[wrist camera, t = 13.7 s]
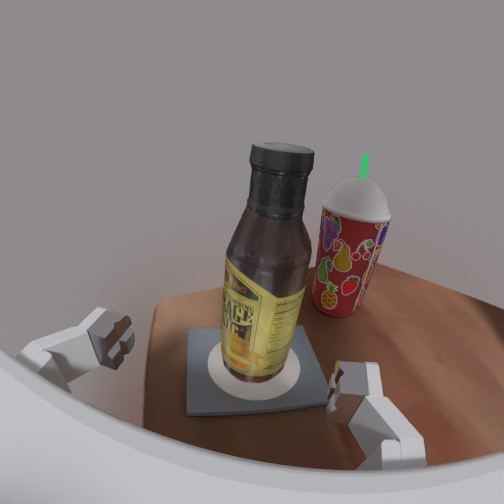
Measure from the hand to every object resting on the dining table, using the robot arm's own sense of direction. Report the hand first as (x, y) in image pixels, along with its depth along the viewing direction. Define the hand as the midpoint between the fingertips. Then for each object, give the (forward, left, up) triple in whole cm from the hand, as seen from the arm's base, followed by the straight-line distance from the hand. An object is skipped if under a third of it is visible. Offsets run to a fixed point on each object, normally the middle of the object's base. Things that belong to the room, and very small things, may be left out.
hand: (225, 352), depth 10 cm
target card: (-4, -11, -14) cm, 19 cm away
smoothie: (-16, -21, -14) cm, 30 cm away
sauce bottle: (-4, -11, -14) cm, 18 cm away
